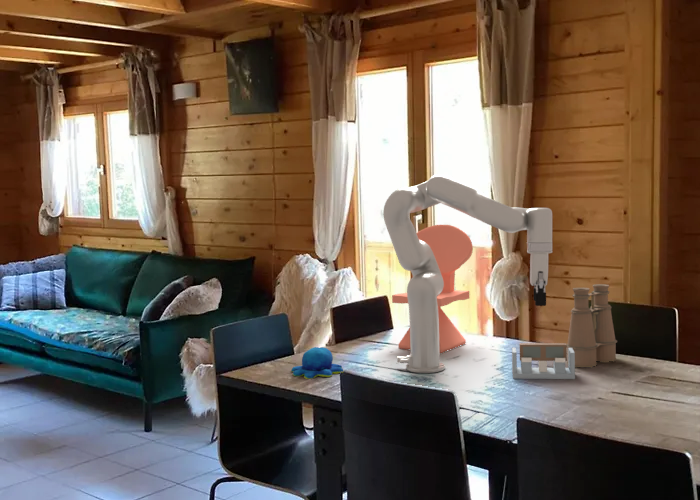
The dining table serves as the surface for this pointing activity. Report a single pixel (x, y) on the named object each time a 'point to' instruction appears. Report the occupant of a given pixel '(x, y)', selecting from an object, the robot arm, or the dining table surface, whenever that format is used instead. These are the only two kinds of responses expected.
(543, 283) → the robot arm
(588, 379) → the dining table surface
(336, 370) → the plush toy
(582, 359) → the binoculars
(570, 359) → the display cradle
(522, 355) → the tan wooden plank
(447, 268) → the chair
